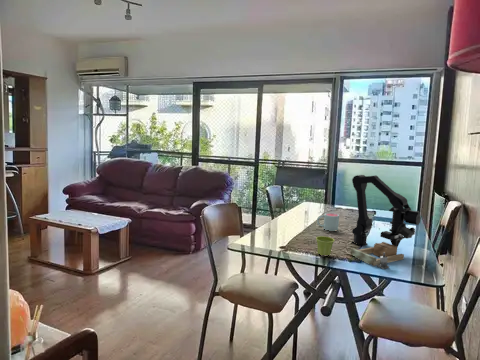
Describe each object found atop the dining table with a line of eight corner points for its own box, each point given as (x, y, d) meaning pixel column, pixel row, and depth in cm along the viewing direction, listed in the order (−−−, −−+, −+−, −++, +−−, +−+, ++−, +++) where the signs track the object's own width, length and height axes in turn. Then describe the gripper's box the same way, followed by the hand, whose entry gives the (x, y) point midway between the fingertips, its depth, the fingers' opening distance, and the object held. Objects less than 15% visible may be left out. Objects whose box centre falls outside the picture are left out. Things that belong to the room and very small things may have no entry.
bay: (350, 255, 189) (350, 248, 188) (379, 250, 200) (380, 243, 199) (373, 265, 176) (374, 258, 176) (403, 259, 187) (404, 251, 186)
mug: (336, 228, 241) (337, 213, 239) (339, 232, 232) (340, 216, 230) (315, 226, 242) (316, 212, 241) (317, 230, 233) (318, 215, 231)
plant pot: (330, 252, 194) (331, 236, 192) (335, 258, 184) (336, 242, 183) (312, 251, 193) (314, 235, 192) (317, 258, 184) (318, 241, 183)
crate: (373, 254, 192) (374, 243, 191) (383, 252, 196) (384, 241, 195) (385, 259, 185) (386, 248, 185) (396, 257, 189) (397, 246, 188)
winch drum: (376, 266, 176) (378, 252, 175) (382, 265, 178) (383, 250, 177) (383, 269, 172) (384, 254, 171) (389, 268, 174) (390, 253, 173)
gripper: (399, 226, 180) (396, 256, 183) (423, 222, 190) (420, 251, 192) (381, 221, 190) (378, 249, 192) (404, 217, 199) (401, 245, 201)
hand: (395, 249), depth 194 cm, fingers closed
